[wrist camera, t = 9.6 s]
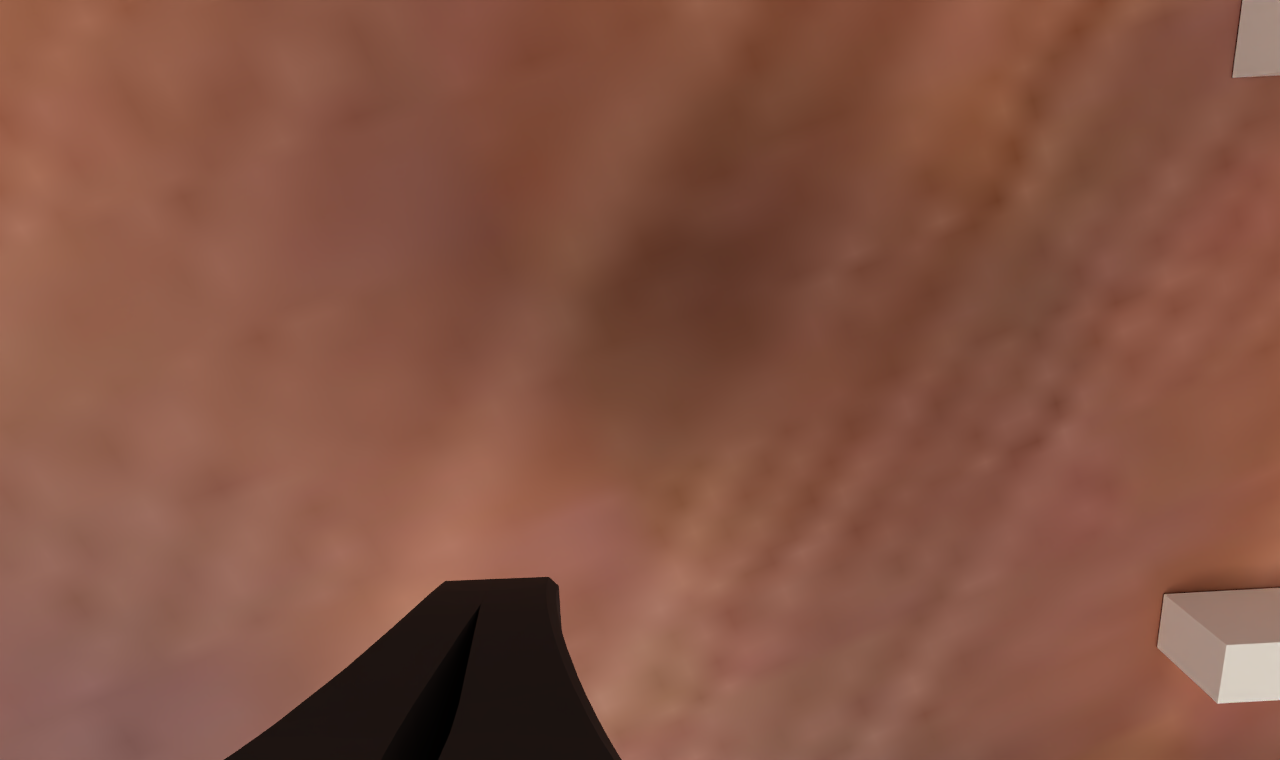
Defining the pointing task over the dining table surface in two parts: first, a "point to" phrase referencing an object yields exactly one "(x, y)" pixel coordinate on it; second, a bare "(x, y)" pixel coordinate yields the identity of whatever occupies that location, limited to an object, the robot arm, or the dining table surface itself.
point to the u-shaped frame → (1236, 619)
